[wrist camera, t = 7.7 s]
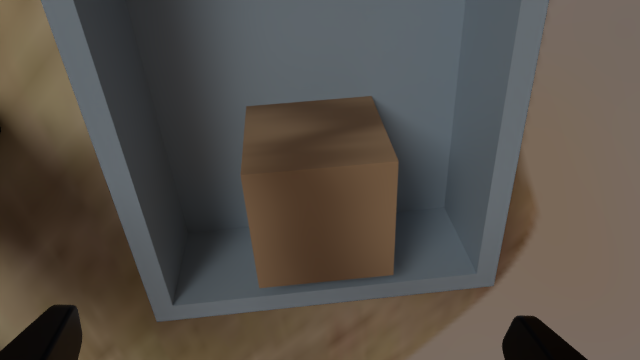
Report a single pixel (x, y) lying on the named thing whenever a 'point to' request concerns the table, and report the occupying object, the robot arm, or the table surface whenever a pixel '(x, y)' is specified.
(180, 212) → the tote
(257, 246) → the walnut cube
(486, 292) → the table surface
